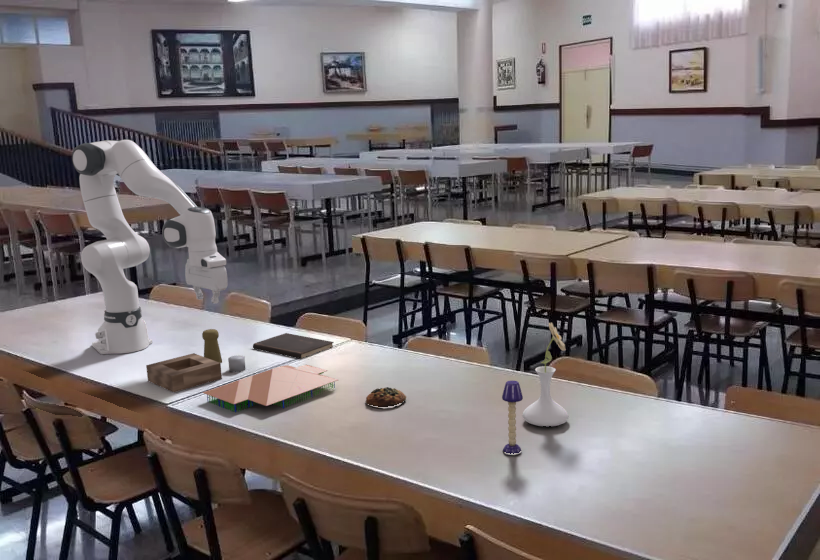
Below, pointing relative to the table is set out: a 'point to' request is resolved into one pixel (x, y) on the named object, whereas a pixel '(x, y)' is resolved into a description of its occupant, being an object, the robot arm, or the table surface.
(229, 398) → the house
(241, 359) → the short stub
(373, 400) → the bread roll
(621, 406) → the table surface
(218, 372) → the box
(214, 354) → the cork
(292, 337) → the hardcover book
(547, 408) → the flower in vase
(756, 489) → the table surface
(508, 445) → the toy lamp
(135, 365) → the table surface
